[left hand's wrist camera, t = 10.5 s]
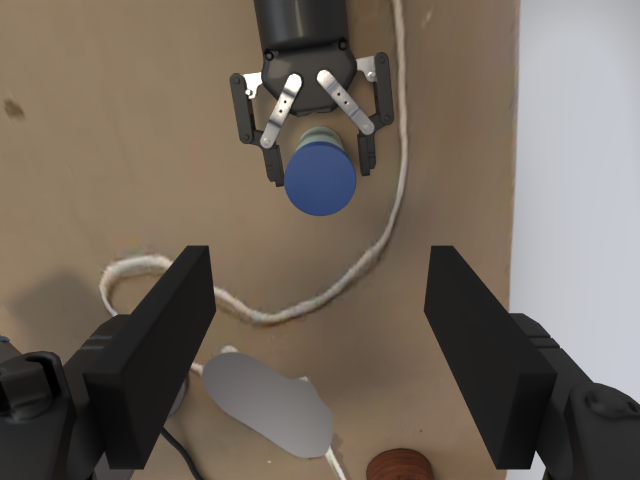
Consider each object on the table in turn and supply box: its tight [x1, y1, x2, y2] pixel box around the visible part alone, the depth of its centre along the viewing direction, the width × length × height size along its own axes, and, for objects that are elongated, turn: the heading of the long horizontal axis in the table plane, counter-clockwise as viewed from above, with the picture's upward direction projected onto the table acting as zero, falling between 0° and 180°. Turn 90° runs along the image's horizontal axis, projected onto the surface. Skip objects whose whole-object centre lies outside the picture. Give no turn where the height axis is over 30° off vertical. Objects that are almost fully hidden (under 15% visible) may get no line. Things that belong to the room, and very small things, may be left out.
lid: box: [284, 141, 356, 216], centre depth 29 cm, size 5×5×2 cm
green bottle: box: [295, 126, 345, 152], centre depth 36 cm, size 5×5×15 cm
